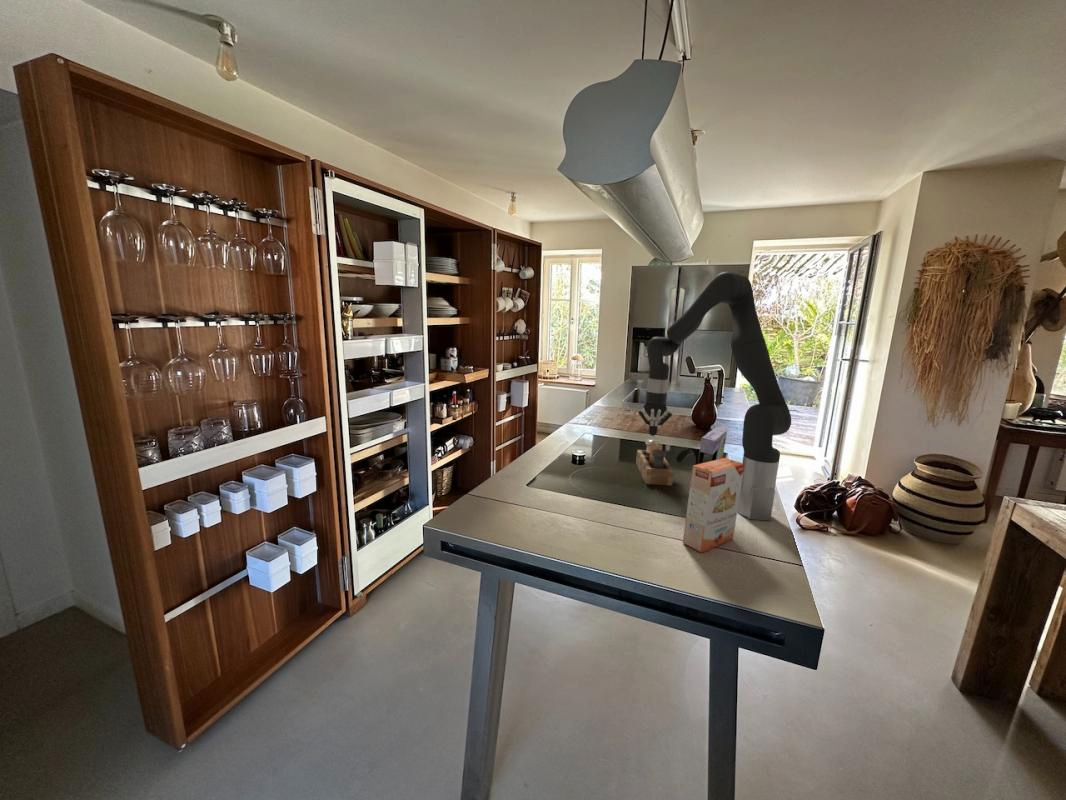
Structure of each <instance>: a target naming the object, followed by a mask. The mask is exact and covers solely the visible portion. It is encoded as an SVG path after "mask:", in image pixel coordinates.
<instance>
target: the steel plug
mask: <svg viewBox="0 0 1066 800" xmlns="http://www.w3.org/2000/svg"><path fill="white" fill-rule="evenodd" d="M650 444H657V445H659V440H658V439H652V438H647V439H645V445H646V456H650V450H649V445H650Z"/></svg>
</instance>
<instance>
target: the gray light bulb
mask: <svg viewBox="0 0 1066 800" xmlns="http://www.w3.org/2000/svg"><path fill="white" fill-rule="evenodd" d="M652 455H653V456H654V460H653V468H659V469H663V462H664V457H665V458H666V457H667V451H665V450H663V449H662V450H653V452H652Z"/></svg>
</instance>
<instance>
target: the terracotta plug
mask: <svg viewBox="0 0 1066 800" xmlns="http://www.w3.org/2000/svg"><path fill="white" fill-rule="evenodd" d="M649 450H650V458H649V462H653V460H654V456H653V455H652V452H653V450H663V446H662V445H661V444H658V445H657V444H650V445H649Z"/></svg>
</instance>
